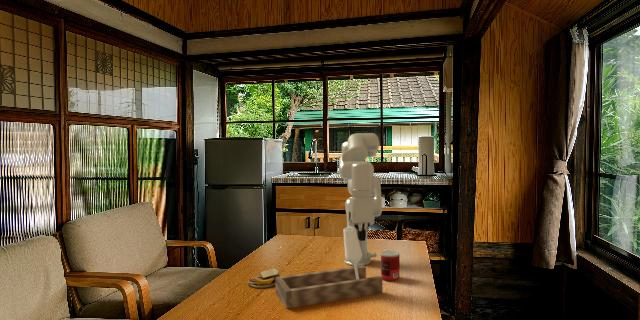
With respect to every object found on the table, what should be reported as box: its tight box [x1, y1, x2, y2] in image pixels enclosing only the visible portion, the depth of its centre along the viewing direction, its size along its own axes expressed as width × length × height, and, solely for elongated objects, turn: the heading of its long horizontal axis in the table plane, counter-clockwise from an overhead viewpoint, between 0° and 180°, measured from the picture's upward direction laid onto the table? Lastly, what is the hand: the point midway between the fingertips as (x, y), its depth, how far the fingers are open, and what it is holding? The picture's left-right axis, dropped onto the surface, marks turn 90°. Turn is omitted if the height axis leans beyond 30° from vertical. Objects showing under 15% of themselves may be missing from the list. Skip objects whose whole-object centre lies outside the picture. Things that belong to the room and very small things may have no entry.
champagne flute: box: [343, 226, 362, 279], centre depth 155 cm, size 7×7×24 cm
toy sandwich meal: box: [247, 268, 281, 289], centre depth 163 cm, size 12×14×5 cm
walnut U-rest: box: [275, 265, 383, 310], centre depth 152 cm, size 38×16×6 cm, turn 110°
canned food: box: [380, 250, 401, 283], centre depth 166 cm, size 8×8×11 cm
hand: (361, 240), depth 156 cm, fingers closed
